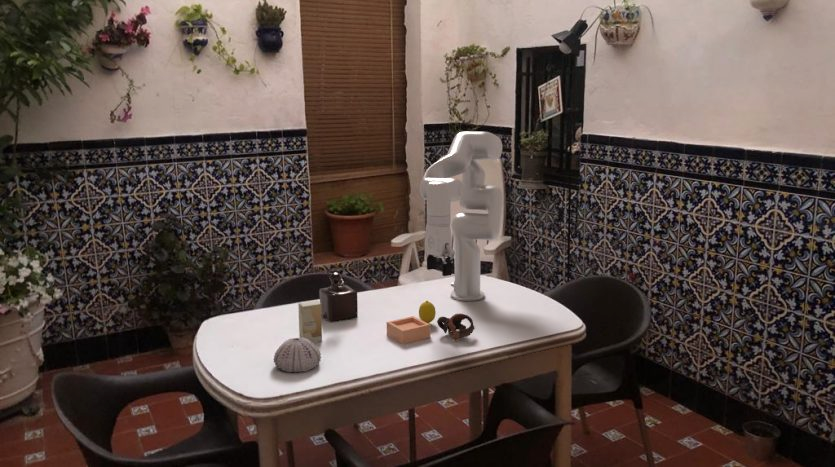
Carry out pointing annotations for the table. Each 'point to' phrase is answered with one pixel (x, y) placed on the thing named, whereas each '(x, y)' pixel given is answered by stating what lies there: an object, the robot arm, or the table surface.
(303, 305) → the skincare box
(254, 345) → the table surface
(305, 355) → the sea urchin shell
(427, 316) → the lemon
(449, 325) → the pottery mug
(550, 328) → the table surface
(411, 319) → the orange square tray
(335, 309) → the dark square decanter
